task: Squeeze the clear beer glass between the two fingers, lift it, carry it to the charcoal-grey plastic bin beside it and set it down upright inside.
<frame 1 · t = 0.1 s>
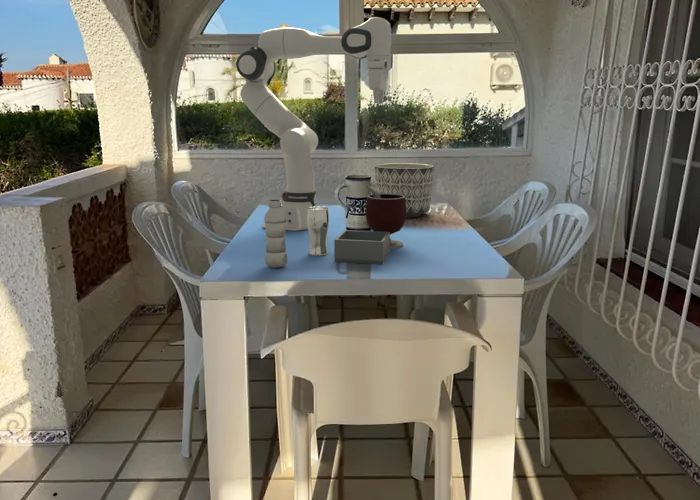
hand: (378, 103, 217), 48 cm above the table, tool pointing down, fingers open, 8 cm apart
beer glass: (318, 254, 189), on the table
mate gourd: (383, 245, 202), on the table
bin: (362, 257, 184), on the table
planter: (402, 215, 261), on the table
plastic bottle: (276, 267, 173), on the table
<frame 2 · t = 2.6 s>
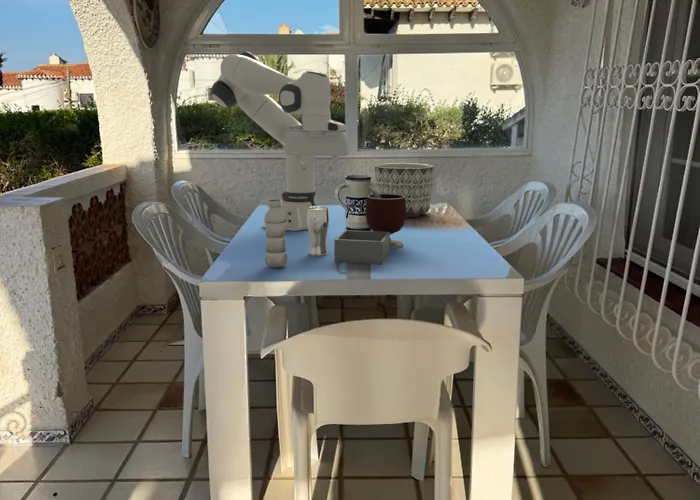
hand: (317, 170, 183), 27 cm above the table, tool pointing down, fingers open, 8 cm apart
nothing on the table moved.
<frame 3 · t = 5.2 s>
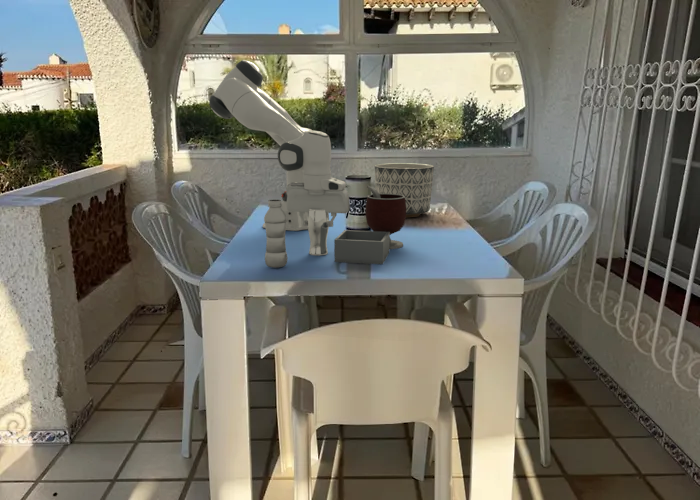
hand: (318, 226, 187), 9 cm above the table, tool pointing down, fingers closed on beer glass, 7 cm apart
beer glass: (318, 254, 189), on the table, touching gripper
everything else where it was.
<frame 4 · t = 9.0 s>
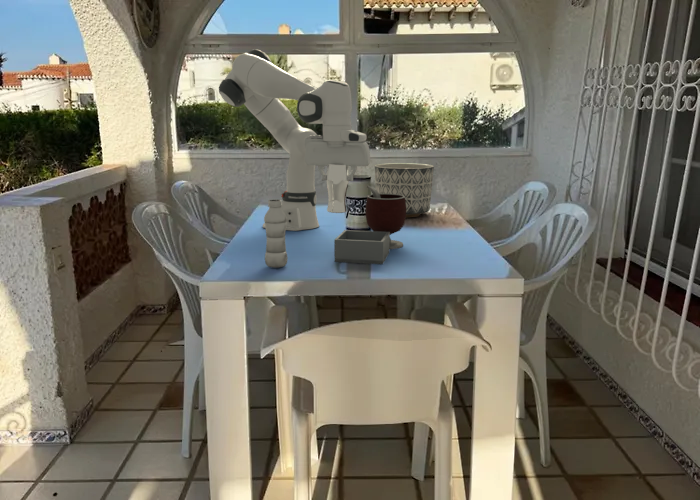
hand: (337, 180, 180), 24 cm above the table, tool pointing down, fingers closed on beer glass, 7 cm apart
beer glass: (336, 211, 183), point 14 cm above the table, touching gripper
everything else where it was.
when the fingers open (12 cm above the table, at t = 12.5 s): beer glass moves 3 cm, resting on bin.
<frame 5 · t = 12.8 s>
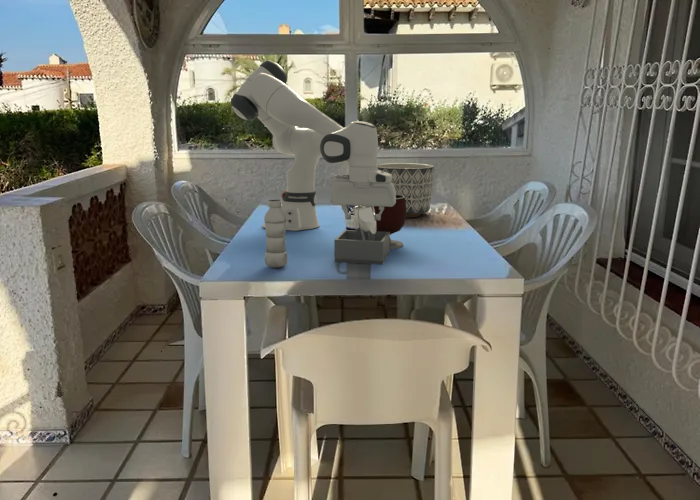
hand: (363, 219, 182), 12 cm above the table, tool pointing down, fingers open, 8 cm apart
beer glass: (369, 253, 184), point 1 cm above the table, touching bin, gripper
everything else where it was.
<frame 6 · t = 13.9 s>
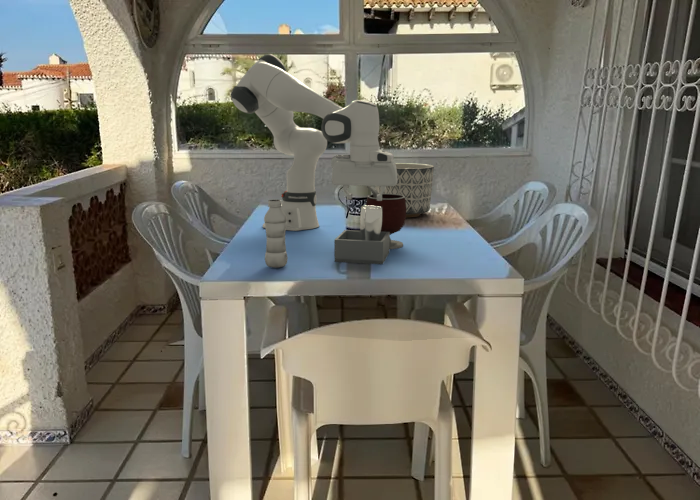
hand: (364, 200, 180), 18 cm above the table, tool pointing down, fingers open, 8 cm apart
beer glass: (369, 254, 184), point 1 cm above the table, touching bin
everything else where it was.
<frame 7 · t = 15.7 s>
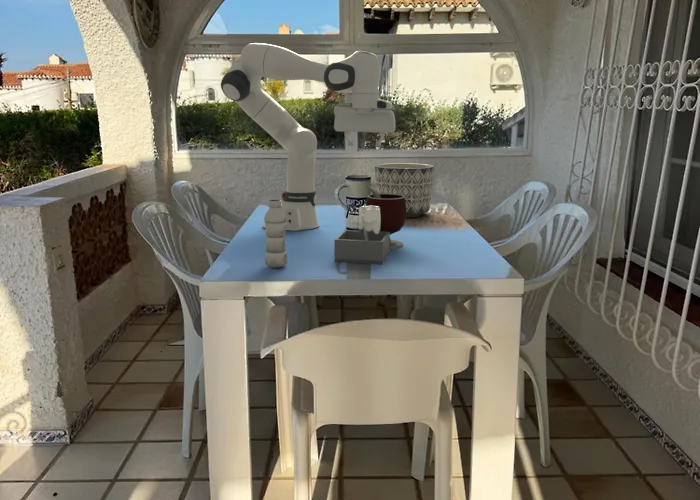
hand: (364, 146, 193), 34 cm above the table, tool pointing down, fingers open, 8 cm apart
nothing on the table moved.
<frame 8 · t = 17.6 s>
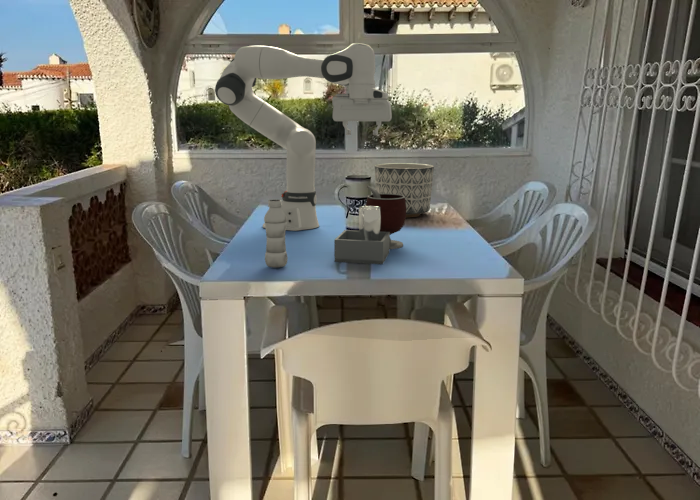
hand: (361, 135, 201), 37 cm above the table, tool pointing down, fingers open, 8 cm apart
nothing on the table moved.
at the end: beer glass inside the target area on the bin (2.1 cm from its centre), point 0.8 cm above the bin's base; beer glass tilted 0°; the gripper is holding nothing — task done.
